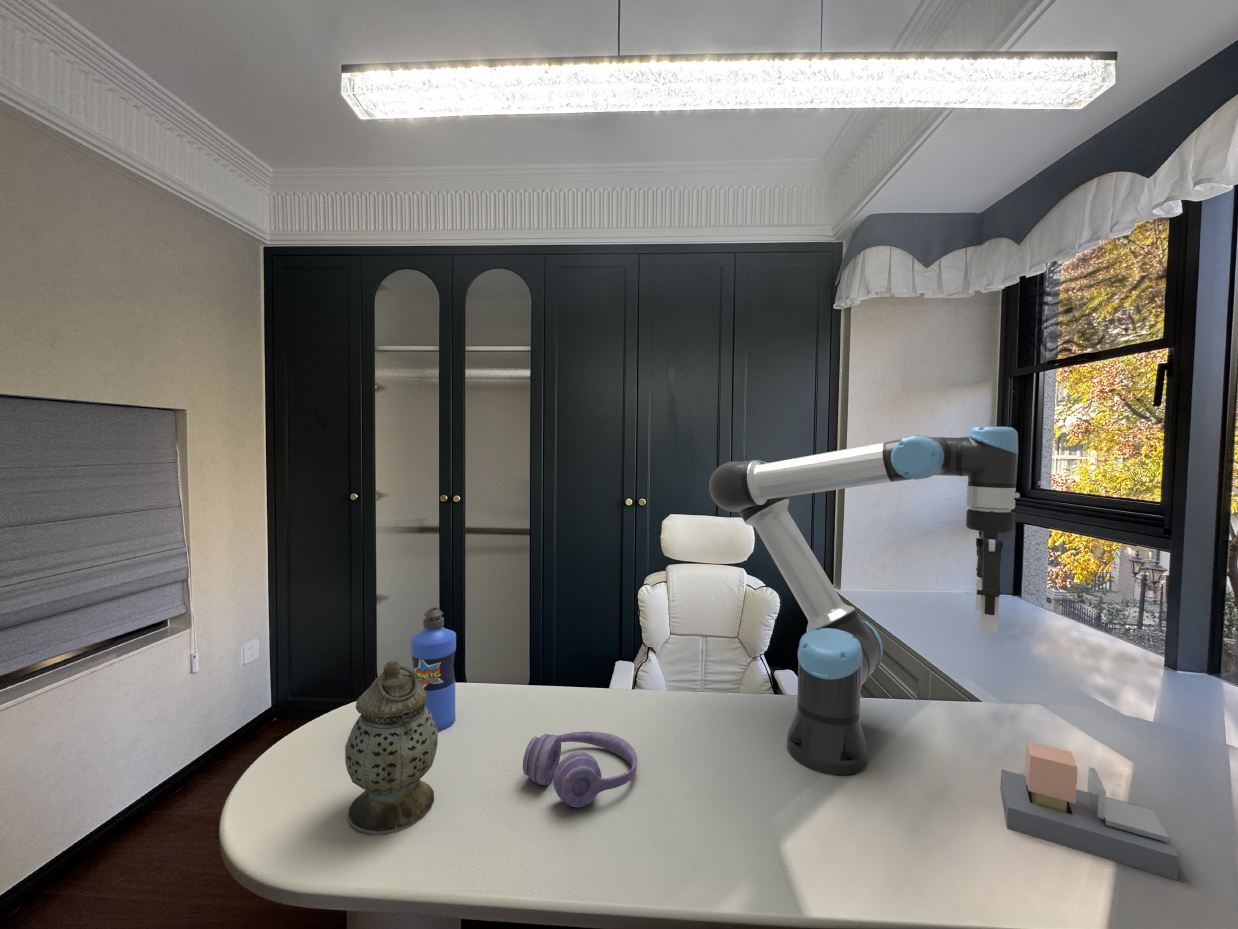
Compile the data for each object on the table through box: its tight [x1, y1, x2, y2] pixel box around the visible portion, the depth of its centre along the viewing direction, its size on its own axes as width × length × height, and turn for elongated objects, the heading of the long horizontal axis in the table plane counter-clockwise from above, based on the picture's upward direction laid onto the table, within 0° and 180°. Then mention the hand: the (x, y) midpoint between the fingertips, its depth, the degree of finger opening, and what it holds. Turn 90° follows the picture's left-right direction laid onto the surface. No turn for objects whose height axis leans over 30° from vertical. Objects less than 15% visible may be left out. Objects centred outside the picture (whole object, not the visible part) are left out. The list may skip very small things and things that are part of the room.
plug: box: [1024, 740, 1078, 813], centre depth 90 cm, size 6×5×11 cm
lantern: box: [344, 660, 439, 836], centre depth 91 cm, size 14×14×25 cm
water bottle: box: [410, 607, 457, 733], centre depth 118 cm, size 9×9×25 cm
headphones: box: [522, 731, 638, 808], centre depth 100 cm, size 18×8×20 cm
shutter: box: [1086, 766, 1169, 842], centre depth 85 cm, size 8×7×5 cm
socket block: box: [999, 769, 1180, 881], centre depth 88 cm, size 20×12×4 cm, turn 59°
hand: (985, 621), depth 103 cm, fingers open, 13 cm apart
